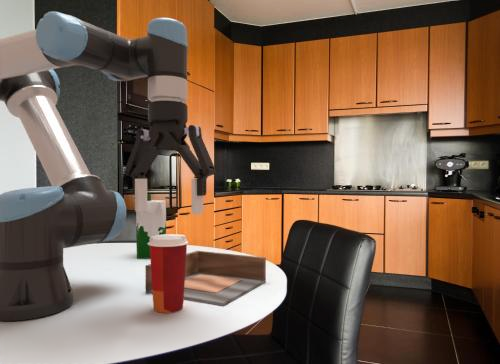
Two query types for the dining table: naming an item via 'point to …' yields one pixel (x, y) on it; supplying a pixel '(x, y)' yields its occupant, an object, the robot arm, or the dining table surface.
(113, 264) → the dining table surface
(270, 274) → the dining table surface
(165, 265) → the paper cup
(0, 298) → the robot arm
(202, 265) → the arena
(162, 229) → the milk carton
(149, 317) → the dining table surface
